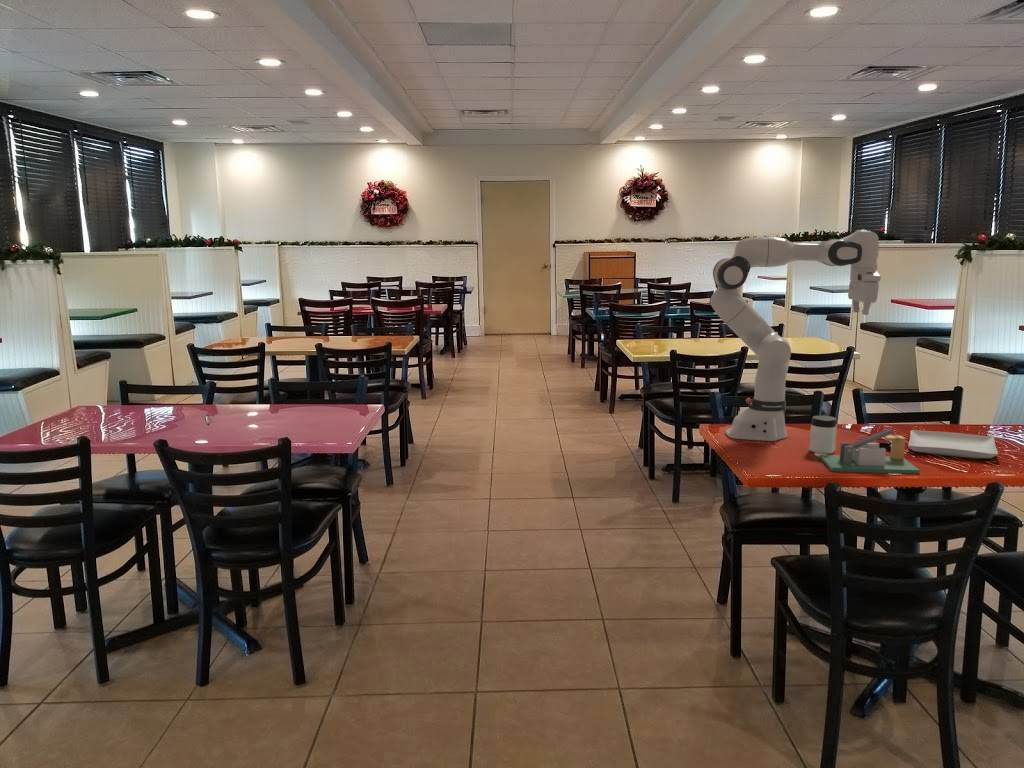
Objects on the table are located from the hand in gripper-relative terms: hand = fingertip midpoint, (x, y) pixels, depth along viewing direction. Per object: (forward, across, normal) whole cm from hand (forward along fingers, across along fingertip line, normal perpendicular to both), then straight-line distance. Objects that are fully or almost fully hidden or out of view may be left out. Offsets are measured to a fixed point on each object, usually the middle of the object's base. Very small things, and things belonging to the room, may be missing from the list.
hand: (860, 313), depth 292 cm
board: (+47, +38, -7) cm, 61 cm away
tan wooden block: (+46, +32, +3) cm, 56 cm away
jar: (+47, +19, -16) cm, 54 cm away
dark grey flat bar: (+39, +38, -7) cm, 55 cm away
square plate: (+48, +14, +30) cm, 58 cm away
